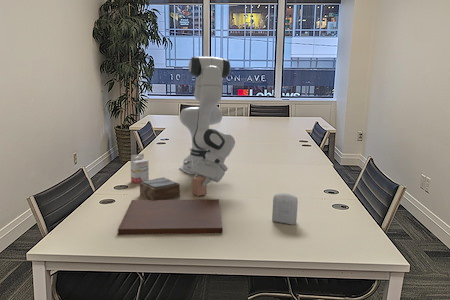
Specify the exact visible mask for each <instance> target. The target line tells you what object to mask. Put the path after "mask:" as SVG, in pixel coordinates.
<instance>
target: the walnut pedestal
mask: <svg viewBox="0 0 450 300" xmlns="http://www.w3.org/2000/svg"><path fill="white" fill-rule="evenodd" d="M180 186H181V184H180V183H178V182H176V181H174V180H171V179H169V178H166V177H164V176H163V177H159V178H153V179H150V180H148V181H143V182H140V183H139V195H140V196H141V197H143V198H144V199H146V200H173V199H175V198H180V197H181V187H180Z"/></svg>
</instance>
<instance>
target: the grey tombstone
mask: <svg viewBox="0 0 450 300" xmlns="http://www.w3.org/2000/svg"><path fill="white" fill-rule="evenodd" d="M298 200H299V199H298V196H296V195H293V194H291V193H285V192H279V193H275V194H274V195H273V198H272V214H271V221H272V222H276V223H281V224H288V225H296V224H297V219H298V218H297V217H298V204H299V203H298Z"/></svg>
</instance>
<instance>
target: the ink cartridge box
mask: <svg viewBox="0 0 450 300" xmlns="http://www.w3.org/2000/svg"><path fill="white" fill-rule="evenodd" d="M149 172H150V171H149V160H148V159H145V157H144V153H137V154H132V155H130V182H132V183H135V184H138V183H139V184H140V183H141V182H143V181H148V180H149V179H150V178H149V175H150V174H149Z"/></svg>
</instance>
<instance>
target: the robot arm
mask: <svg viewBox="0 0 450 300" xmlns="http://www.w3.org/2000/svg"><path fill="white" fill-rule="evenodd" d="M188 71H189V74H190V75H191V76H193V77H195V85H194V91H193V95H194V98H195V99H196V101H198V102H199V106H190V107H185V108H182V109H181V111H180V114H179V120H180V122H181V124H182V125H183V126H185V127H186V128H187V129H188V131H189V133H190V136H191V146H192V147H191V148H190V149H189V152H190V153H189V155H188V156H186V157H184V159H183V163H182V165H181V166H179V170H180V171H182V172H184V173H186V174H187V175H194V177H199V176H201V177H204V178H206V180H205V181H204V182H202V183H201V185H202V186H203V187H205V185H206V186H207V184H209V183H210V182H213V183H220V182H221V180H222V179H223V177H224V176H225V172H227V171H228V170H229V167H228V166H227V165H226V164H225V161H226V159H227V158H228V157H230V154H231V153H232V151H233V149H234V147H235V145H236V140H235V138H234V137H233V136H232V135H231V134H230V133H228V132H221V131H218V130H217V129H215V128H210V126H213V125H216V124H217V125H218V124H220V123H221V121H222V119H223V112H222V110H221V108H220V107H219V106H217V105H219V104H220V102H221V100H222V97H223V79H226V78H227V77H229V75H230V73H231V63H230V61H229V60H228V59H227V58H224V57H222V58H221V57H216V56H198V55H196V56H192V57H191V58H190V60H189V63H188Z"/></svg>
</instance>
